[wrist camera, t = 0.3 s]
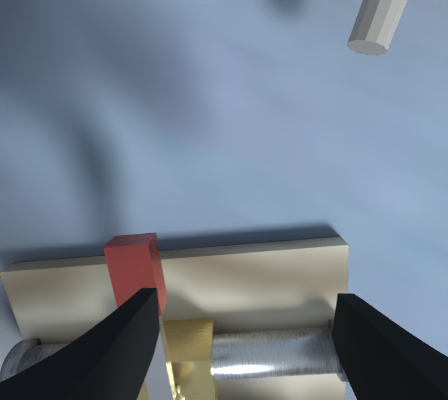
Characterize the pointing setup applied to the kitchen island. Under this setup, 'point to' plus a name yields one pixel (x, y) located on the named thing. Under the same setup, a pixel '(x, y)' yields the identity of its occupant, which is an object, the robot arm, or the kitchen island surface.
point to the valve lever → (131, 283)
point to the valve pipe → (217, 355)
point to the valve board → (200, 300)
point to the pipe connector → (375, 26)
